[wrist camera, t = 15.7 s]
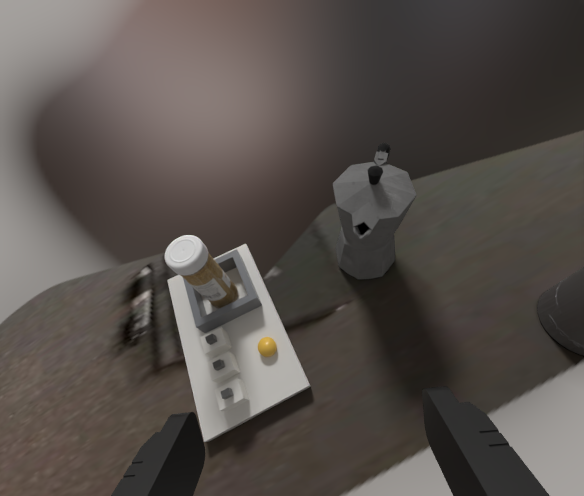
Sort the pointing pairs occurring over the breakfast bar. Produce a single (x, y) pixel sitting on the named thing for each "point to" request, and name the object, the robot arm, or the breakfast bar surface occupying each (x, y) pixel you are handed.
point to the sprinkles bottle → (200, 270)
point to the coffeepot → (371, 214)
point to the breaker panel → (235, 348)
